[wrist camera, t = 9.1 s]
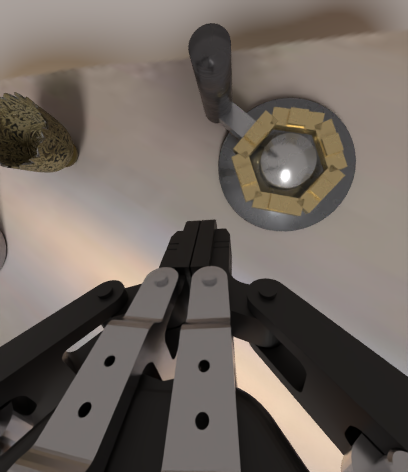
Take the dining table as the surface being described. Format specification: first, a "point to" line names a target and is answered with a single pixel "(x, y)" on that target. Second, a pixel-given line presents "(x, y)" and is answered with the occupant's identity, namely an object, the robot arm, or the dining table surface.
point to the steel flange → (286, 169)
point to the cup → (32, 137)
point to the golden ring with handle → (260, 126)
